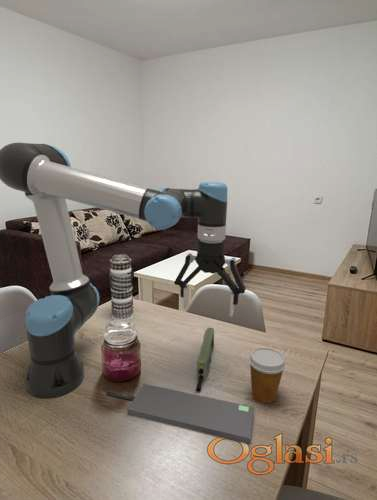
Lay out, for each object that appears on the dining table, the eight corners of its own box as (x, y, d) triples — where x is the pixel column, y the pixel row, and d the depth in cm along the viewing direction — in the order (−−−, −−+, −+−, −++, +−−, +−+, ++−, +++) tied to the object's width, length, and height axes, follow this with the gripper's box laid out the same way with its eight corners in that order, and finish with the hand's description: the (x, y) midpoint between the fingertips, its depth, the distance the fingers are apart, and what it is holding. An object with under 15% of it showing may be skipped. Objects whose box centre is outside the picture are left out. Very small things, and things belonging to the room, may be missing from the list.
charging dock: (96, 406, 83) (96, 401, 83) (115, 382, 93) (115, 377, 92) (249, 443, 73) (250, 438, 73) (253, 412, 83) (254, 406, 82)
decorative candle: (127, 308, 137) (125, 251, 131) (138, 317, 130) (137, 256, 124) (107, 314, 132) (103, 255, 125) (117, 323, 125) (114, 261, 118)
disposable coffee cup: (286, 392, 90) (291, 354, 87) (274, 413, 82) (278, 372, 79) (254, 379, 95) (257, 342, 92) (239, 398, 87) (242, 358, 84)
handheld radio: (215, 345, 112) (204, 394, 89) (205, 344, 113) (192, 393, 89) (215, 327, 110) (204, 373, 87) (205, 327, 111) (192, 372, 87)
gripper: (163, 239, 89) (163, 310, 95) (256, 247, 83) (250, 323, 88) (172, 233, 96) (171, 299, 102) (258, 240, 90) (252, 311, 95)
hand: (208, 310), depth 95 cm, fingers open, 13 cm apart
